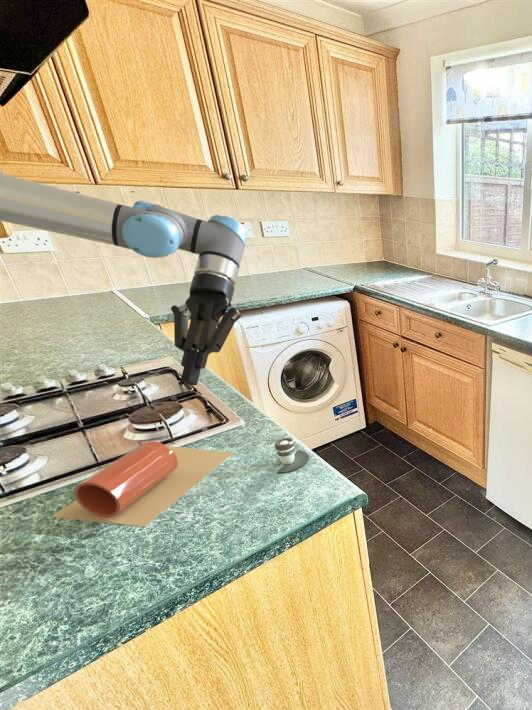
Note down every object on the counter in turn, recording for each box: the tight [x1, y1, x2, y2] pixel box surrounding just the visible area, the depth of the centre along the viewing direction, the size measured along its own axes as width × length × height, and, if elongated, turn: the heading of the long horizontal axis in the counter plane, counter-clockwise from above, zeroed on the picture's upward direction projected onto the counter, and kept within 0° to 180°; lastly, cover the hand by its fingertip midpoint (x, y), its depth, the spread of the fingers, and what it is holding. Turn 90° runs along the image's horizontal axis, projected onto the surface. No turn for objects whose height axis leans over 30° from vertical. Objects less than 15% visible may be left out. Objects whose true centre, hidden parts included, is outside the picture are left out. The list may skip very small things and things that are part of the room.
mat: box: [50, 445, 235, 527], centre depth 77 cm, size 16×21×1 cm
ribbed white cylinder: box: [274, 437, 310, 474], centre depth 83 cm, size 12×12×5 cm
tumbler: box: [74, 440, 178, 517], centre depth 72 cm, size 7×7×12 cm
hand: (188, 382), depth 83 cm, fingers closed
